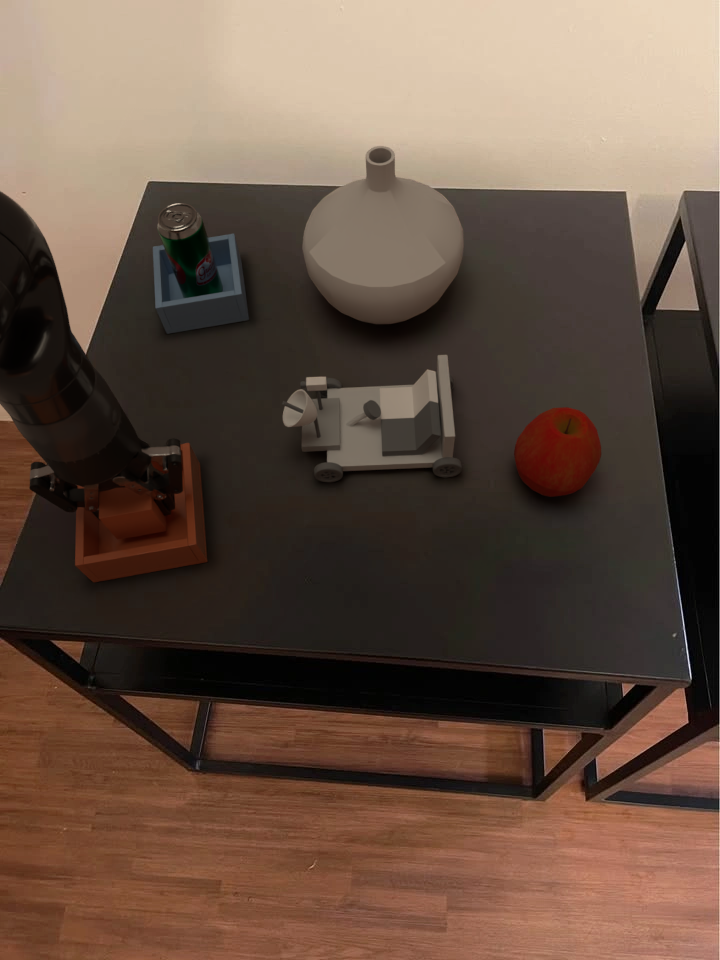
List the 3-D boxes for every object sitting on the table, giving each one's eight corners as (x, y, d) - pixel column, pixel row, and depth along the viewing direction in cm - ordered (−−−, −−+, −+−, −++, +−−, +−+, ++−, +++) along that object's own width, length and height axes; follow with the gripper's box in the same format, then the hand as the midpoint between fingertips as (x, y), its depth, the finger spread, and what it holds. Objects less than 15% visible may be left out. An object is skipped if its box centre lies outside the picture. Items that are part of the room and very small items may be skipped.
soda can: (213, 312, 87) (187, 236, 77) (176, 304, 88) (146, 227, 78) (230, 282, 90) (207, 205, 79) (193, 274, 91) (166, 196, 80)
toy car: (276, 435, 68) (280, 339, 73) (291, 484, 76) (293, 394, 82) (468, 427, 67) (458, 330, 72) (461, 477, 76) (452, 387, 81)
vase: (297, 342, 85) (271, 213, 69) (324, 232, 94) (308, 93, 77) (451, 356, 83) (463, 227, 66) (465, 243, 92) (479, 102, 75)
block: (117, 540, 72) (98, 518, 67) (116, 496, 74) (98, 472, 70) (166, 531, 72) (151, 509, 68) (164, 488, 74) (150, 464, 70)
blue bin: (166, 334, 87) (155, 308, 83) (163, 273, 92) (152, 246, 88) (249, 320, 87) (241, 293, 83) (241, 260, 92) (234, 233, 88)
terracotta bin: (93, 582, 72) (74, 565, 68) (93, 483, 78) (76, 461, 73) (207, 562, 72) (196, 544, 68) (200, 464, 78) (189, 442, 74)
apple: (583, 518, 73) (610, 466, 63) (502, 501, 74) (517, 447, 65) (593, 451, 76) (620, 392, 67) (516, 435, 78) (531, 375, 68)
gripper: (160, 368, 60) (207, 468, 75) (-13, 396, 59) (70, 492, 74) (163, 443, 56) (212, 533, 71) (-20, 474, 56) (68, 558, 71)
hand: (139, 511), depth 73 cm, fingers closed on block, 5 cm apart
